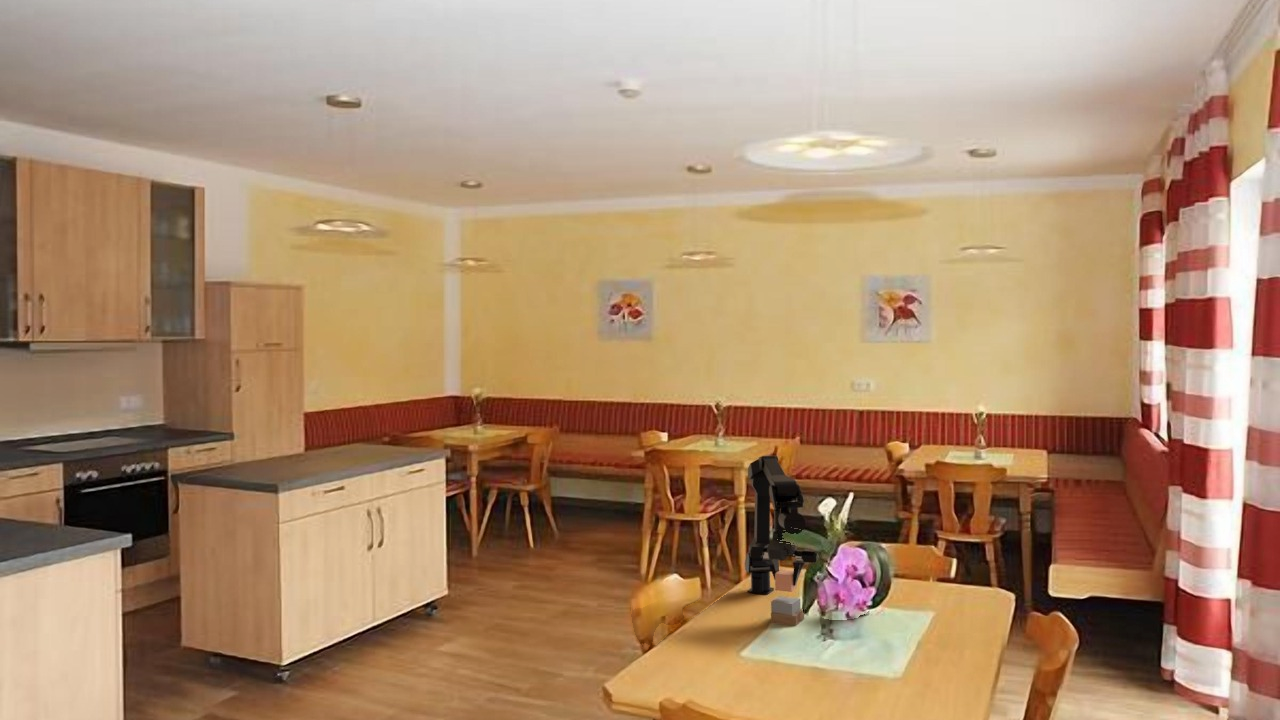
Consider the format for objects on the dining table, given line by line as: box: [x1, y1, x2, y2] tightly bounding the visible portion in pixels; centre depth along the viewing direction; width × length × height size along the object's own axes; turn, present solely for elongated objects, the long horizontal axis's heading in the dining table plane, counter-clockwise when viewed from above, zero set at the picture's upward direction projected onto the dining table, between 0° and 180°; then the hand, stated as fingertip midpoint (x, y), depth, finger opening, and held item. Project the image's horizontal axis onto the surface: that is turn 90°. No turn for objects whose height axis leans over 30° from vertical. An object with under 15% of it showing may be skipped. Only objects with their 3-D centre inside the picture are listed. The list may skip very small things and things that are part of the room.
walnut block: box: [770, 608, 805, 627], centre depth 265 cm, size 7×7×3 cm
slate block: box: [770, 595, 802, 615], centre depth 265 cm, size 6×6×3 cm
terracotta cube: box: [774, 569, 798, 593], centre depth 264 cm, size 4×4×4 cm
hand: (786, 584), depth 264 cm, fingers closed on terracotta cube, 4 cm apart
